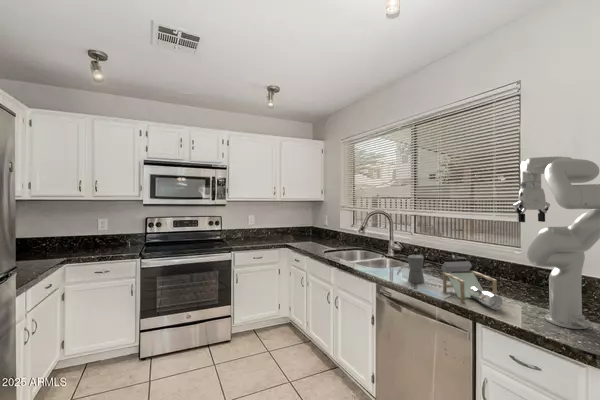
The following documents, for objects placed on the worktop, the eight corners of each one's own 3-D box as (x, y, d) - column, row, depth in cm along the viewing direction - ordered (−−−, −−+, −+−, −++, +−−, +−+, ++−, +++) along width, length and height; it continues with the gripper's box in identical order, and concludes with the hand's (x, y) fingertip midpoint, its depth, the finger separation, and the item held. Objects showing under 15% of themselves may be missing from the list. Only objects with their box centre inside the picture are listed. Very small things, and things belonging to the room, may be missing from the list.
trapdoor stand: (497, 301, 139) (496, 279, 139) (461, 302, 138) (461, 281, 138) (474, 290, 156) (474, 270, 156) (443, 291, 155) (442, 272, 155)
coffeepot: (415, 285, 167) (415, 254, 167) (402, 281, 175) (401, 251, 175) (432, 280, 175) (431, 251, 175) (418, 277, 183) (418, 248, 183)
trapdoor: (484, 299, 146) (488, 294, 142) (457, 300, 145) (460, 295, 142) (465, 266, 160) (469, 261, 157) (441, 267, 160) (444, 262, 156)
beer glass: (465, 288, 143) (485, 297, 128) (478, 283, 144) (500, 292, 129) (470, 301, 143) (491, 312, 128) (482, 296, 143) (505, 307, 128)
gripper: (519, 185, 132) (520, 223, 133) (555, 185, 133) (556, 222, 133) (507, 186, 140) (508, 221, 140) (541, 185, 141) (542, 220, 141)
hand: (531, 221), depth 137 cm, fingers open, 9 cm apart
